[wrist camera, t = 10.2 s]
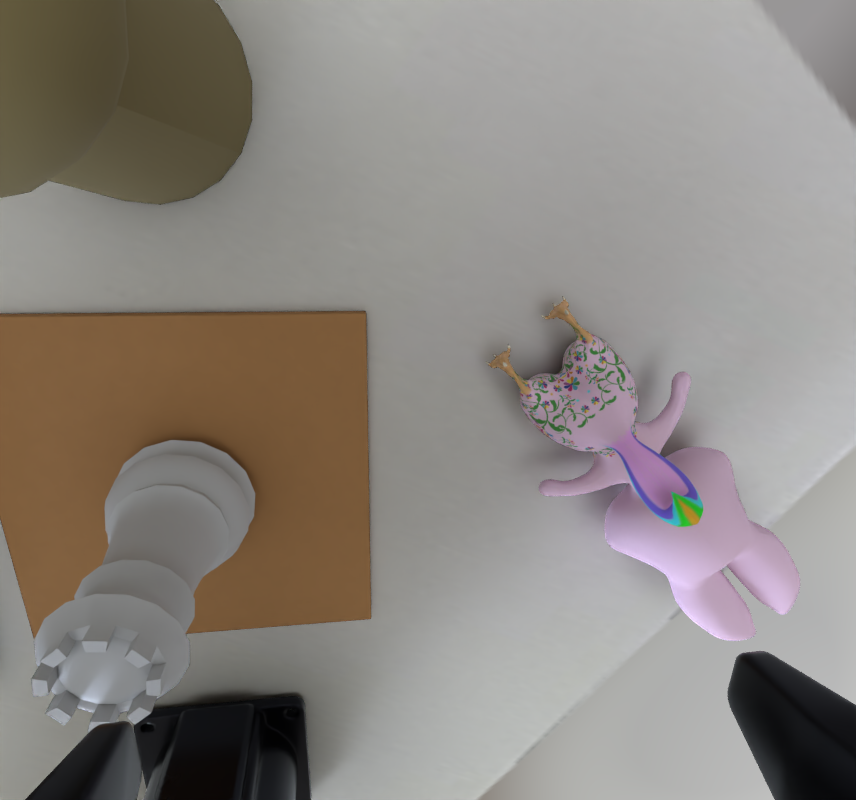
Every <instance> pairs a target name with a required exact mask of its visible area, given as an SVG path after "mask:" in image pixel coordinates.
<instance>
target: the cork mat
mask: <svg viewBox="0 0 856 800" xmlns="http://www.w3.org/2000/svg"><path fill="white" fill-rule="evenodd" d="M169 440H181V441H194V442H202V443H204V444H207V445H209V446H211V447H214V448H216V449H218V450H220V451H223V452H225V453H227V454H228V455H229V456H230V457H231V458H232V459H233V460H234V461H235V462H237V463H238V464H239V465H240V466H241V467H242V468H243V469H244V470H245V471H246V473H247V475H248V478H249V480H250V482H251V485H252V487H253V489H254V492H255V510H254V517H253V519H252V521H251V523H250V525H249V526H248V532H247V534H246V535H245V537H244V539H243V541H242V542H241V544H240V546H239V548H238V549H237V551H236V552H235V553H234V554H233V556H231V557H230V558H229V559H227V560H226V561H225V562H223V563H222V564H221V565H219V566H218V567H217V568H215V569H214V570H212V571H210V572H209V573H208V574H206V575H205V576H203V578H202V579H201V581H200V583H199V584H198V586H197V588H196V590H195V592H194V595H193V597H194V598H195V617H194V619H193V621H192V623H191V624H190V626H189V628H188V630H187V631H186V633H185V634H188V633H201V632H213V631H226V630H239V629H251V628H264V627H276V626H289V625H301V624H314V623H326V622H339V621H351V620H364V619H371V582H370V520H369V458H368V396H367V334H366V312H365V311H306V312H180V313H53V314H0V520H1V523H2V527H3V530H4V534H5V537H6V541H7V545H8V548H9V552H10V555H11V559H12V562H13V566H14V569H15V573H16V577H17V580H18V584H19V587H20V591H21V594H22V598H23V601H24V605H25V608H26V612H27V616H28V619H29V623H30V626H31V630H32V633H33V637H34V639H35V637H36V635H37V633H38V631H39V629H40V627H41V625H42V623H43V621H44V619H45V618H46V617H47V616H49V615H50V614H51V613H53V612H54V611H55V610H57V609H58V608H59V607H61V606H62V605H63V604H65V603H66V602H69V601H73V600H75V599H74V596H75V594H76V592H77V590H78V588H79V586H80V584H81V582H82V579H83V578H85V577H86V576H87V575H89V574H90V573H91V572H93V571H94V570H95V569H97V568H98V567H99V566H101V565H102V563H103V560H104V558H105V555H106V552H107V549H108V547H109V544H108V534H107V532H106V531H105V510H104V507H105V500H106V498H107V496H108V494H109V492H110V490H111V488H112V486H113V483H114V481H115V479H116V478H117V477H118V475H119V473H120V471H121V468H122V466H123V464H124V463H125V462H127V461H128V460H129V459H130V458H132V457H133V456H134V455H135V454H137V453H138V452H139V451H141V450H142V449H143V448H144V447H148V446H151V445H155V444H159V443H162V442H166V441H169Z"/></svg>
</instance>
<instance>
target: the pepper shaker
mask: <svg viewBox="0 0 856 800" xmlns="http://www.w3.org/2000/svg"><path fill="white" fill-rule="evenodd" d="M251 121H252V80H251V77H250V73H249V70H248V66H247V62H246V59H245V55H244V52H243V48H242V45H241V42H240V40H239V39H238V37H237V35H236V34H235V32H234V30H233V29H232V27H231V25H230V24H229V22H228V20H227V19H226V17H225V15H224V14H223V12H222V10H221V9H220V7H219V5H218V4H217V3H216V2H215V1H213V0H0V198H3V197H8V196H13V195H17V194H22V193H27V192H31V191H33V190H34V189H36V188H37V187H39V186H40V185H42V184H44V183H45V182H47V181H52V182H56V183H60V184H63V185H67V186H71V187H75V188H78V189H82V190H86V191H90V192H94V193H97V194H101V195H105V196H109V197H112V198H116V199H120V200H124V201H131V202H141V203H150V204H160V205H161V204H165V203H170V202H174V201H179V200H183V199H188V198H193V197H194V196H196V195H198V194H199V193H201V192H202V191H204V190H206V189H207V188H209V187H210V186H212V185H213V184H215V183H217V182H218V181H220V180H221V179H222V178H223V176H224V175H225V174H226V172H227V171H228V170H229V168H230V167H231V166H232V165H233V163H234V162H235V161H236V159H237V158H238V157H239V155H240V154H241V152H242V149H243V146H244V142H245V139H246V136H247V133H248V130H249V127H250V124H251Z"/></svg>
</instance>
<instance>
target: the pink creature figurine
mask: <svg viewBox="0 0 856 800" xmlns="http://www.w3.org/2000/svg"><path fill="white" fill-rule="evenodd" d="M568 306H569V304H568V302H567V301H566V299H565V298H564V297H563V301H562V302H561V303H560V304H559V305H557V306H556V305H555V304H553V307H554V309H553V310H552V311H551V312H550V315H549V316H542V317H543V318H544V319H550V318H552V319H554V318H555V317H558V318H560V319H562V320H564V321H566V322H567V323H569V324H570V325H571V326H572V328H573V329H574V331H575V333H576V341H575V342H573V343H572V344H571V345H570V346H569V347H568V348H567V350H566V351H565V354H564V356H563V366H562V369H561V371H560V372H559V373H557V374H548V373H542V374H537V375H535V376H533V377H531V378H530V379H529V380H526V379H523V378H521V377H520V376H518V375H517V374H516V372H515V371H514V369H513V368H512V366H511V364H510V362H509V359H508V357H509V356H510V354H509V353H510V346H509V345H508V350H507V351H504V352H503V353H501V354H500V355H498V356H497V355H494V354H493V355H494V357H495V359H494V360H493V361H492V362H491V363H489V362H486V363H487V364H488V365H489V366H490V367H493V368H497V367H499V368H500V369H502V370H504V371H505V372H506V373H507V374H508V375H509V376H510V377H512V378H513V379H514V380H515V381H516V383H517V384H518V386H519V389H520V404H521V407H522V409H523V411H524V413H525V414H526V416H527V417H528V418H529V419H530V420H531V422H532V423H533V424H534V425H535V426H536V427H537V428H538V429H539V430H540V431H541V432H542V433H543V434H545V435H546V436H548V437H549V438H551V439H552V440H554V441H556V442H558V443H560V444H562V445H564V446H566V447H569V448H571V449H574V450H578V451H593V456H594V464H593V466H592V468H591V469H590V470H589V471H588V472H587V473H586V474H584V475H582V476H580V477H578V478H575V479H573V480H569V481H557V480H551V479H548V480H544V481H542V482H541V483H540V485H539V491H540V493H541V494H543V495H545V496H574V495H581V494H585V493H589V492H593V491H597V490H601V489H604V488H607V487H609V486H612V485H615V484H621V483H628V484H627V486H626V487H625V488H624V489H623V490H622V491H621V492H620V493H619V494H618V495H617V496H616V497H615V498H614V500H613V501H612V502H611V504H610V506H609V508H608V510H607V513H606V518H605V537H606V541H607V542H608V544H609V545H610V546H611V547H612V548H613V549H615V550H617V551H619V552H621V553H624V554H626V555H629V556H631V557H633V558H636V559H638V560H640V561H643V562H645V563H647V564H649V565H651V566H653V567H654V568H656V569H658V570H659V571H661V572H663V573H664V574H665V575H666V576H667V578H668V580H669V583H670V586H671V589H672V592H673V595H674V598H675V600H676V602H677V603H678V605H679V606H680V608H681V609H682V610H683V611H684V612H685V613H686V615H687V616H688V617H689V618H690V619H692V620H693V621H694V622H695V623H696V624H698V625H699V626H700V627H702V628H703V629H704V630H706V631H707V632H709V633H710V634H712V635H713V636H715V637H717V638H720V639H723V640H729V641H739V640H745V639H749V638H752V637H754V636H755V634H756V629H755V627H754V624H753V621H752V617H751V613H750V611H749V608H748V607H747V605H746V603H745V601H744V600H743V599H742V597H741V596H740V595H739V593H738V592H737V591H736V589H735V588H734V587H733V585H732V584H731V583H730V582H729V580H728V579H727V577H725V575H724V574H723V573H722V572H721V569H722V568H724V567H725V566H726V565H727V566H728V567H729V569H730V570H731V571H732V572H733V574H734V575H735V576H736V577H737V578H738V579H739V580H740V581H741V582H742V584H743V585H744V586H745V587H746V588H747V589H748V590H749V591H750V592H751V593H752V595H753V596H754V597H756V598H757V599H758V600H759V601H761V602H762V603H763V604H765V605H767V606H768V607H770V608H772V609H773V610H775V611H776V612H777V613H779V614H786V613H787V612H788V611H789V610H790V609H791V607H792V606H793V604H794V603H795V601H796V599H797V596H798V593H799V590H800V577H799V574H798V571H797V568H796V566H795V564H794V562H793V560H792V558H791V556H790V554H789V552H788V550H787V549H786V547H785V546H784V545H783V543H782V542H781V541H780V540H779V539H778V537H777V536H776V535H774V534H773V533H772V532H771V531H769V530H768V529H766V528H764V527H762V526H760V525H758V524H756V523H754V522H752V521H750V520H749V519H748V517H747V515H746V512H745V510H744V508H743V506H742V503H741V501H740V499H739V496H738V493H737V490H736V485H735V480H734V475H733V470H732V466H731V463H730V460H729V458H728V457H727V455H725V454H724V453H723V452H721V451H719V450H716V449H712V448H704V447H688V448H683V449H680V450H678V451H675V452H673V453H671V454H670V455H668V456H666V457H665V458H664V457H663V456H661V455H660V452H661V450H662V448H663V446H664V444H665V443H666V441H667V440H668V438H669V437H670V435H671V434H672V432H673V430H674V428H675V426H676V425H677V423H678V421H679V419H680V417H681V415H682V412H683V410H684V407H685V403H686V400H687V396H688V392H689V389H690V385H691V377H690V375H689V374H688V373H686V372H679V373H677V374H676V375H675V376H674V377H673V380H672V390H671V397H670V399H669V402H668V403H667V405H666V407H665V408H664V409H663V411H662V412H661V413H660V414H659V415H658V417H656V418H655V419H654V420H652V421H650V422H648V423H640V422H636V421H635V417H636V414H637V411H638V395H637V390H636V386H635V382H634V379H633V377H632V375H631V373H630V371H629V369H628V367H627V366H626V364H625V363H624V361H623V360H622V359H621V358H620V356H619V355H618V354H617V353H616V352H615V350H614V349H613V348H612V347H611V346H610V345H609V344H608V343H607V342H606V341H604V340H603V339H601V338H599V337H596V336H594V335H592V334H590V333H589V332H587V331H586V330H584V329H583V328H581V327H580V326H579V324H578V323H577V321H576V320H575V318H574V317H573V316H572V315H571V313H570V311H569V309H568Z"/></svg>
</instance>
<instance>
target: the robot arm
mask: <svg viewBox="0 0 856 800" xmlns="http://www.w3.org/2000/svg"><path fill="white" fill-rule="evenodd" d="M728 700H729V704H730V708H731V710H732V712H733V714H734V716H735V718H736V720H737V723H738V725H739V727H740V729H741V731H742V733H743V735H744V737H745V739H746V741H747V743H748V745H749V747H750V749H751V751H752V754H753V756H754V758H755V760H756V762H757V764H758V766H759V768H760V770H761V772H762V774H763V776H764V778H765V781H766V782H767V785H768V786H769V789H770V791H771V793H772V795H773V797H774V799H775V800H856V705H855V704H853V703H851V702H850V701H848V700H846V699H845V698H843V697H841V696H840V695H838V694H836V693H835V692H833V691H831V690H830V689H828V688H826V687H825V686H823V685H821V684H820V683H818V682H817V681H815V680H813V679H812V678H810V677H808V676H807V675H805V674H803V673H802V672H800V671H798V670H797V669H795V668H793V667H792V666H790V665H788V664H787V663H785V662H783V661H782V660H780V659H778V658H777V657H775V656H774V655H772V654H769V653H768V652H764V651H756V652H747V653H742V654H740V655H739V656H738V657H737V658H736V660H735V664H734V668H733V672H732V676H731V680H730V683H729V687H728ZM289 709H295V710H289ZM147 723H149V724H147ZM134 733H135V735H134ZM135 738H136V739H135ZM142 770H143V774H144V779H145V784H146V788H147V790H146V793H145V796H144V799H143V800H311V798H312V796H311V782H310V768H309V754H308V740H307V726H306V712H305V703H304V701H303V700H302V699H301V698H299V697H297V696H288V697H278V698H267V699H257V700H247V701H236V702H226V703H215V704H205V705H194V706H184V707H174V708H163V709H153V710H152V713H150V714H149V715H148V716H146V717H145V718H143V719H142V720H141V721H139V722H138V723H136V724H135V725H134V731H133V728H132V725H131V724H130V723H129V722H126V721H122V722H113V723H104V724H100V725H98V726H96V727H95V728H93V729H92V730H91V731H90V732H89V733H88V734H87V735H86V736H85V737H84V738H83V739H82V740H81V741H80V743H79V744H78V745H77V746H76V747H75V748H74V749H73V750H72V751H71V752H70V753H69V754H68V755H67V756H66V757H65V758H64V759H63V760H62V761H61V763H60V764H59V765H58V766H57V767H56V768H55V769H54V770H53V771H52V772H51V773H50V774H49V775H48V776H47V777H46V778H45V779H44V780H43V781H42V782H41V784H40V785H39V786H38V787H37V788H36V789H35V790H34V791H33V792H32V793H31V794H30V795H29V796H28V797H27V798H26V799H25V800H137V796H138V792H139V787H140V782H141V775H142Z"/></svg>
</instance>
